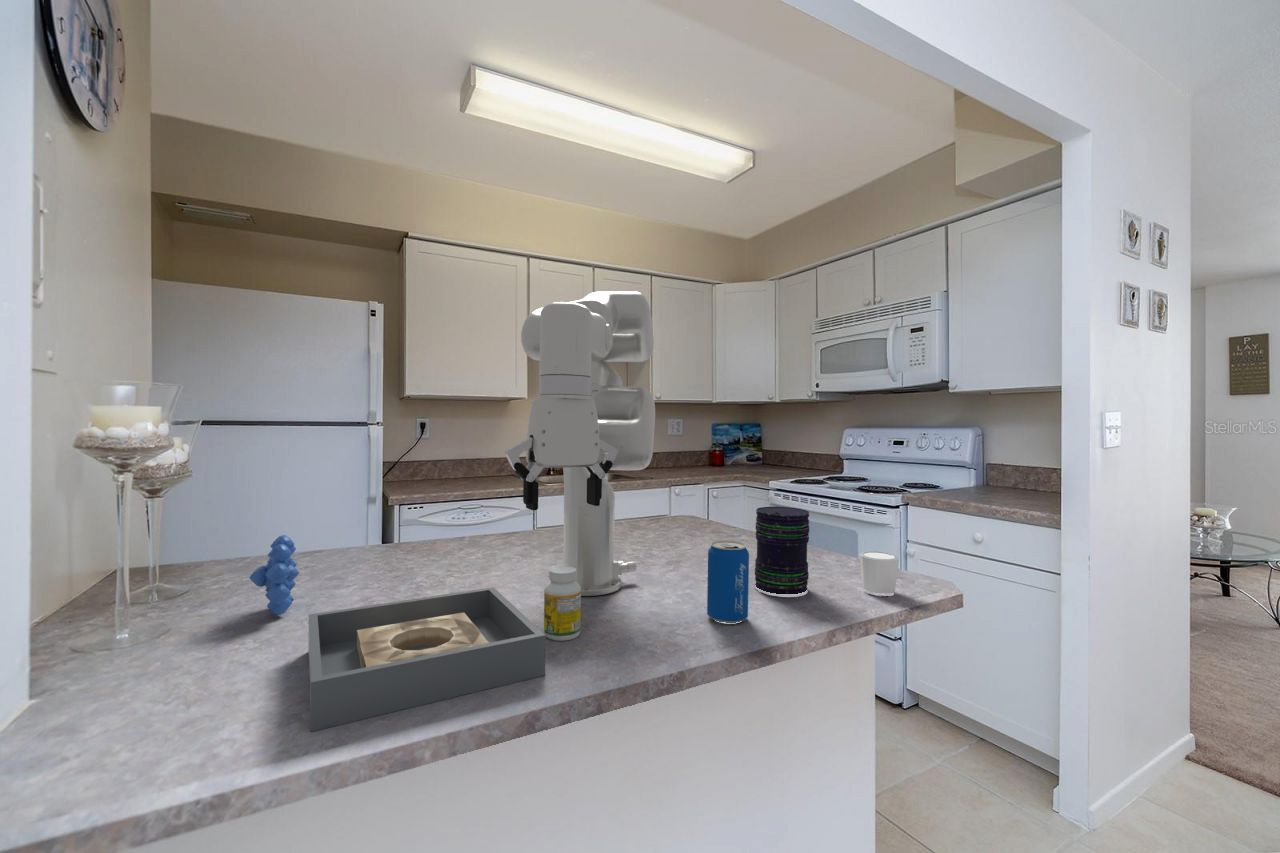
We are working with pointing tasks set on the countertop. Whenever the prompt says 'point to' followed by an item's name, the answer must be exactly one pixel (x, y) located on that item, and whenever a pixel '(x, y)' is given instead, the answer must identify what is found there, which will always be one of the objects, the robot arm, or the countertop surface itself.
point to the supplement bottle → (562, 604)
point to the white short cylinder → (879, 571)
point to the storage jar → (782, 550)
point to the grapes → (278, 575)
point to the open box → (420, 680)
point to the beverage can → (728, 581)
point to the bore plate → (416, 639)
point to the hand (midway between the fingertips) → (563, 506)
